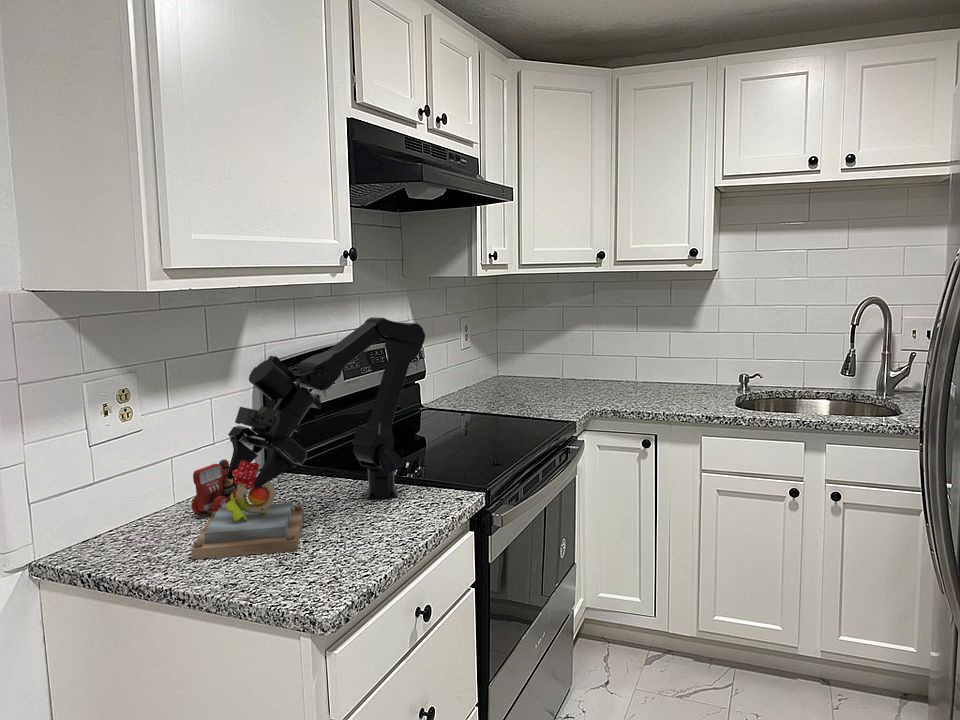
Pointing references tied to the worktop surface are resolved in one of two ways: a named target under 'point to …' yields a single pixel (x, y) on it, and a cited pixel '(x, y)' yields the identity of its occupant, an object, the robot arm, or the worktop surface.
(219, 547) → the wooden toy tray
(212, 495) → the toy fire truck
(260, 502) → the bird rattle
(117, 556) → the worktop surface
